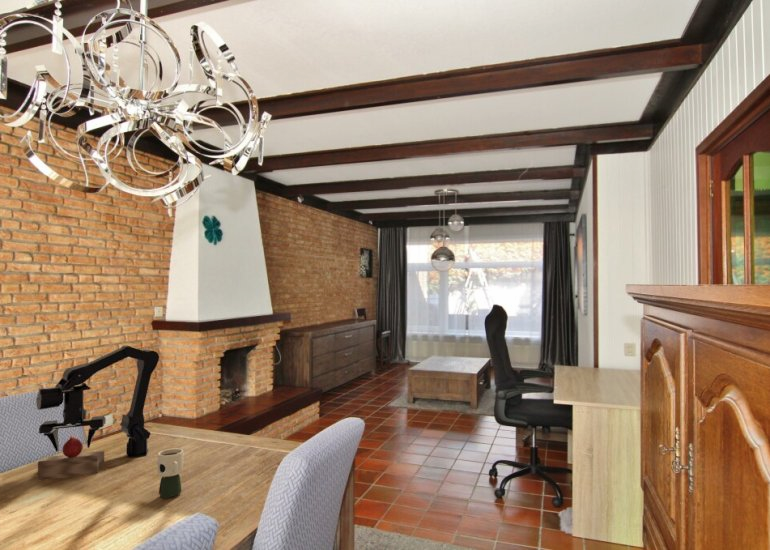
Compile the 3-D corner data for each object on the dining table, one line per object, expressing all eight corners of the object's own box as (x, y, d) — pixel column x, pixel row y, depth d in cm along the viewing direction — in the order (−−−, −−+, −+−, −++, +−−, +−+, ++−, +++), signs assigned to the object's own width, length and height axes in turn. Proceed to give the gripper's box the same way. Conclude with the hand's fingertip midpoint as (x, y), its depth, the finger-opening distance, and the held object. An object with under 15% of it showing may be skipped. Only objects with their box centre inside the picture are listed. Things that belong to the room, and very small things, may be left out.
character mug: (152, 493, 143) (152, 450, 144) (176, 486, 148) (177, 445, 149) (162, 505, 135) (163, 459, 136) (188, 497, 140) (188, 453, 140)
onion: (86, 455, 165) (86, 433, 165) (74, 462, 159) (73, 439, 159) (71, 455, 166) (70, 432, 165) (58, 462, 160) (57, 439, 160)
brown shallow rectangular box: (104, 461, 171) (104, 444, 171) (97, 473, 160) (97, 455, 160) (48, 468, 165) (49, 451, 165) (37, 480, 154) (37, 462, 154)
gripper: (108, 397, 174) (108, 439, 174) (49, 401, 167) (48, 445, 167) (102, 403, 164) (102, 448, 163) (38, 408, 157) (38, 456, 156)
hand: (73, 449), depth 163 cm, fingers open, 9 cm apart
